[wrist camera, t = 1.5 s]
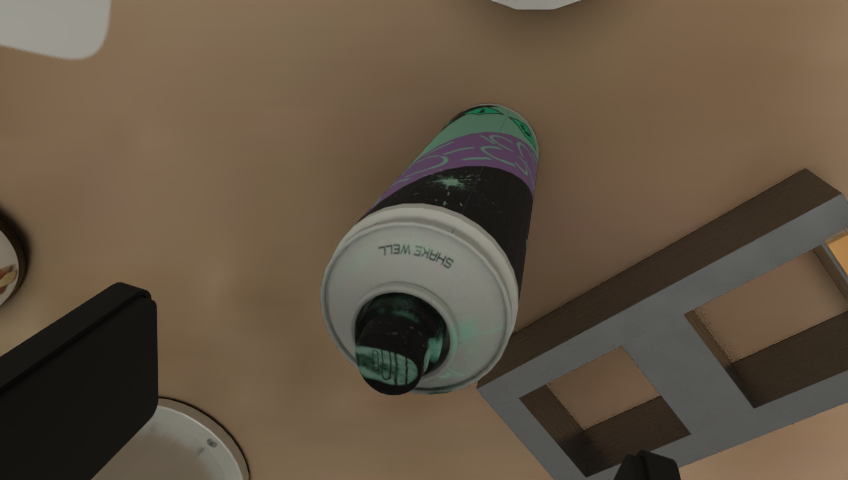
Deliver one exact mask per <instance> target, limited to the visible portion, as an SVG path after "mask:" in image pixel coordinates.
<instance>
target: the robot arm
mask: <svg viewBox="0 0 848 480" xmlns="http://www.w3.org/2000/svg"><path fill="white" fill-rule="evenodd" d="M0 480H249V474H248V470H247V466H246V462H245V460H244V458H243V456H242V454H241V452H240V450H239V448H238V447H237V446H236V444H235V443H234V441H233V440H232V438H231V437H230V436H229V435H228V434H227V433H226V432H225V431H224V430H223V429H222V428H221V427H220V426H219V425H218V424H217V423H215V422H214V421H213V420H212V419H210V418H209V417H207V416H206V415H204V414H203V413H201V412H199V411H198V410H196V409H194V408H192V407H189V406H187V405H185V404H182V403H179V402H176V401H172V400H168V399H160V398H158V352H157V306H156V303H155V301H153V300H152V299H151V295H150V293H149V292H148V291H147V290H144V289H141V288H138V287H135V286H132V285H128V284H125V283H122V282H119V283H115V284H113V285H111V286H110V287H108V288H107V289H105V290H104V291H102V292H100V293H99V294H97V295H96V296H94V297H93V298H91V299H90V300H88V301H86V302H85V303H83V304H82V305H80V306H79V307H77V308H76V309H74V310H72V311H71V312H69V313H68V314H66V315H65V316H63V317H62V318H60V319H58V320H57V321H55V322H54V323H52V324H51V325H49V326H48V327H46V328H44V329H43V330H41V331H40V332H38V333H37V334H35V335H34V336H32V337H30V338H29V339H27V340H26V341H24V342H23V343H21V344H19V345H18V346H16V347H15V348H13V349H12V350H10V351H9V352H7V353H5V354H4V355H2V356H1V357H0ZM613 480H681V478H680V474H679V470H678V466H677V463H676V461H675V460H674V459H670V458H667V457H664V456H661V455H658V454H655V453H652V452H649V451H646V450H640V451H638V453H637V454H636V456H634V455H631V454H627V455H626V456H625V458H624V459H623V461H622V463H621V465H620V467H619V469H618V471H617V473H616V475H615V477H614V479H613Z"/></svg>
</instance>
